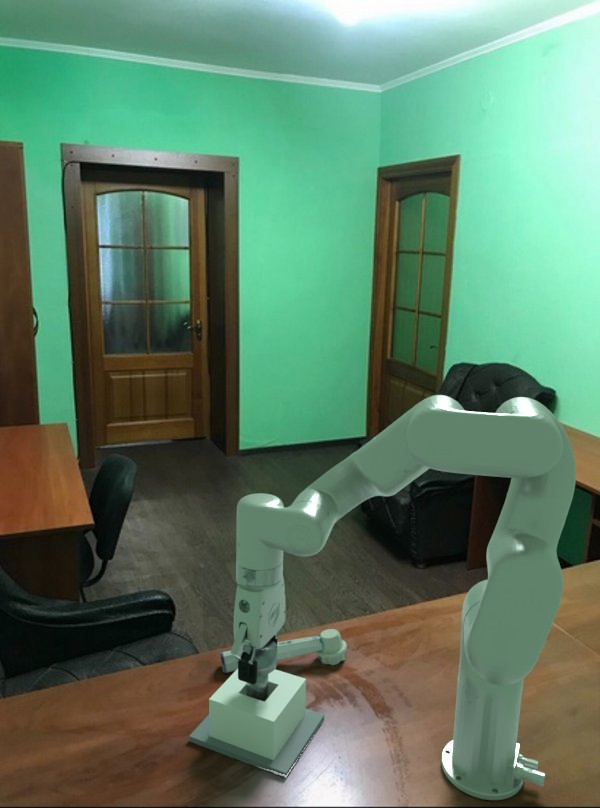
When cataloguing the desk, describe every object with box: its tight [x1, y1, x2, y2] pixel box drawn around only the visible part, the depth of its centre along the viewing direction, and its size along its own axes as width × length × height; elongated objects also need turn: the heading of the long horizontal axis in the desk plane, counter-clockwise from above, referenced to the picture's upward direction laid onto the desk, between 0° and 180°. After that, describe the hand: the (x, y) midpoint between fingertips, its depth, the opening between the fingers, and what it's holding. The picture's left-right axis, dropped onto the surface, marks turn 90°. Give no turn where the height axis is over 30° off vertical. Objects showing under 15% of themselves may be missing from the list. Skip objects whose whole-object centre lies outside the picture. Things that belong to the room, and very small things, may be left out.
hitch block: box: [188, 668, 325, 775], centre depth 111 cm, size 18×15×8 cm
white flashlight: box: [219, 628, 348, 674], centre depth 130 cm, size 5×7×25 cm
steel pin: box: [244, 637, 278, 701], centre depth 110 cm, size 6×6×9 cm
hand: (257, 668), depth 109 cm, fingers closed on steel pin, 6 cm apart
